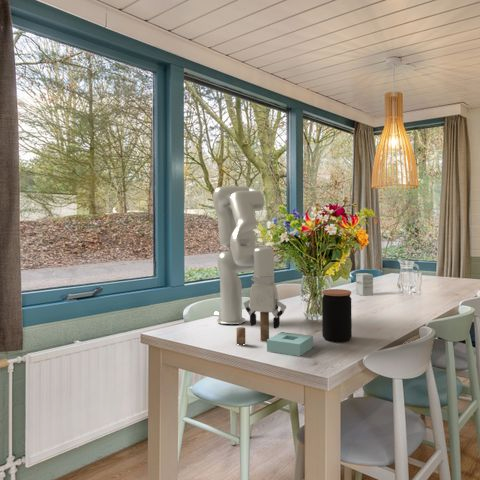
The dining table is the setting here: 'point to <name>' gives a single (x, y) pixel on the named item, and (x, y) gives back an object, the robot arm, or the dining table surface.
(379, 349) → the dining table surface
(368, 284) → the supplement box
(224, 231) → the robot arm
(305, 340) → the hole block
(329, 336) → the coffee jar
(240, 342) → the short dowel
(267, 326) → the long dowel
